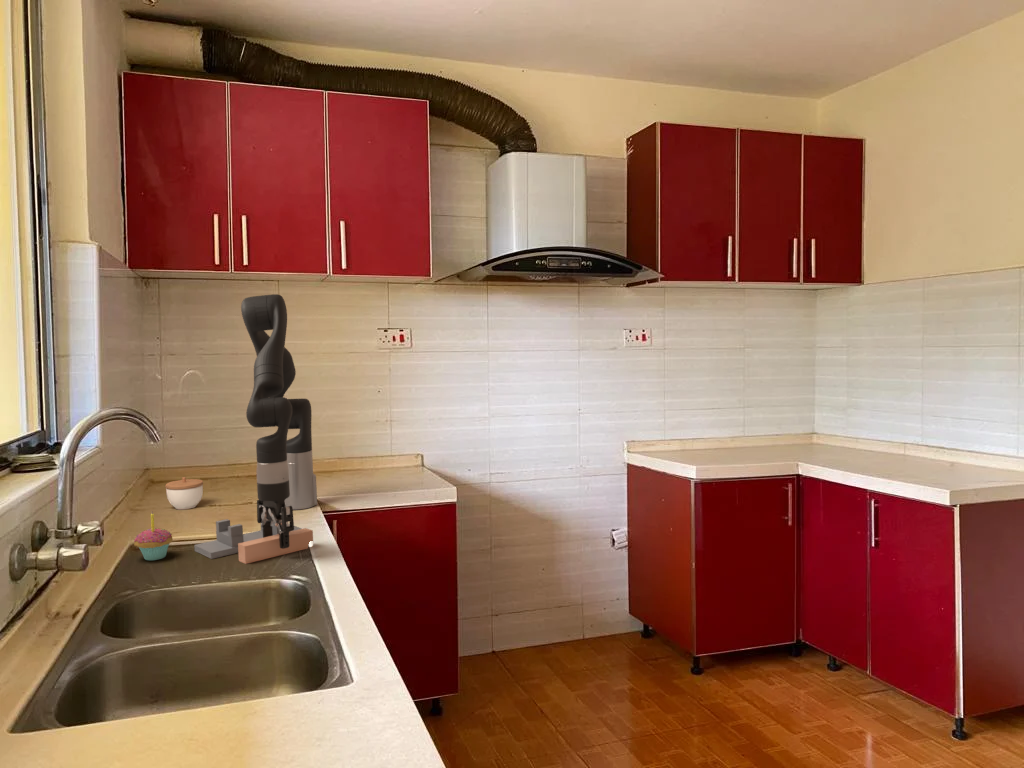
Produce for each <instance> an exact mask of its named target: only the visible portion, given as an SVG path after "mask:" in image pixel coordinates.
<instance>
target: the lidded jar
mask: <svg viewBox="0 0 1024 768" xmlns="http://www.w3.org/2000/svg"><path fill="white" fill-rule="evenodd" d="M203 486H204V480H202V479H195V478H190V479H189V478H187V477H186V476H184V477H183V476H182V477H181V479H179V480H173V481H170V482H169V481H168V482H167V483H166V484H165V486H164V487H165V490H166V498H167V500H168V502H169V503H170V505H171V506H172V507H174V509H175V510H179V511H181V510H188V509H189V510H190V509H195V508H197V505H198V504H199V503H200V502H201V500H202V499H203V491H204V488H203Z"/></svg>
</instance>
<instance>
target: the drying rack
mask: <svg viewBox="0 0 1024 768" xmlns="http://www.w3.org/2000/svg"><path fill="white" fill-rule="evenodd" d="M261 516H262V514H261ZM288 524H289V526H290V523H288ZM243 526H244V525H243V524H240V523H238V524H232V525H231V520H230V519H228V518H227V519H222V520H216V521H215V532H216V533H215V534H216V537H215V538H216V539H214V540H211V541H206V542H202V543H197V544H196V543H195V544H194V545H193V546H194V552H196V553H198V554H201V555H203V556H204V557H207V558H209V559H211V560H213V559H219V558H222V557H225V556H230V555H234V554H238V543H242V542H247V541H251V540H256V539H260V538H263V527H261V526H260V530H256V531H251V532H248V533H247V532H246V533H244V529H243V528H244V527H243ZM270 526H272V532H273V535H277V534H279V530H278V528H277V526H275V525H274V522H273V523H272V525H270ZM281 526H282V525H281ZM299 529H303V527H299V526H296V525H294V530H293V531H295V530H299Z"/></svg>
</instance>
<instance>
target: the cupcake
mask: <svg viewBox="0 0 1024 768" xmlns="http://www.w3.org/2000/svg"><path fill="white" fill-rule="evenodd" d="M150 525H151V528H148V529H145V530H143V531H141V532H139V534H136V537H135V538H133V540H134V541H133V542H134V544H133V545H134V547H137V548H139V550H140V552H141V554H142V556H143V559H144V560H145V561H157V560H163V559H164V558H166V556H167V552H168V549H169V546H170V543H172V542H173V536H172V535H173V534H172V533H171V532H170V531H168V530H167V529H163V528H158V527H156V528H155V514H154V513H153V511H151V513H150Z"/></svg>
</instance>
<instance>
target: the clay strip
mask: <svg viewBox="0 0 1024 768" xmlns="http://www.w3.org/2000/svg"><path fill="white" fill-rule="evenodd" d="M310 541H313V542H314V531H313V529H310V528H307V527H304V528H303V527H302V529H299V530H295V531H290V532H289V544H290V546H289V547H288V548H284V549H282V548H280V541H279V534H277V535H273V536H269V537H264V538H260V539H256V540H251V541H247V542H242V543H238V553H237V555H238V561H239V562H240V563H243V564H245V565H246V564H251V563H255V562H259V561H264V560H268V559H270V558H274V557H278V556H284V555H287V554H291V553H295V552H298V551H302V550H306V549H307V550H308V549H309V548H308V544H309V542H310Z"/></svg>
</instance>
